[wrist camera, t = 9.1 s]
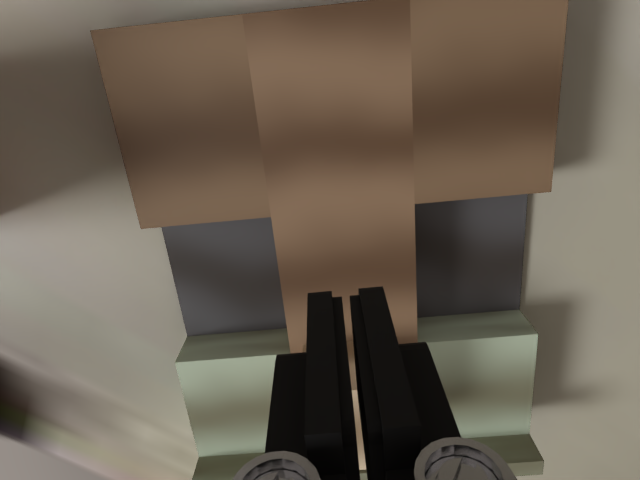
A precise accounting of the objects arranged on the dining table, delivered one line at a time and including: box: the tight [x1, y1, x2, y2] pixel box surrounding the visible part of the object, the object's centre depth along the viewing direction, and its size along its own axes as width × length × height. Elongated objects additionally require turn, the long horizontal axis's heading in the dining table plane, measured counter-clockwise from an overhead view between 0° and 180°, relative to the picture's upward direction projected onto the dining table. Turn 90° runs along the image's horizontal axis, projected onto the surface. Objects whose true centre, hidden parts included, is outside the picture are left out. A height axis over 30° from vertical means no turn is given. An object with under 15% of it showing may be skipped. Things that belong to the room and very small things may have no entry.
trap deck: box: [90, 0, 568, 480], centre depth 24 cm, size 25×20×5 cm
